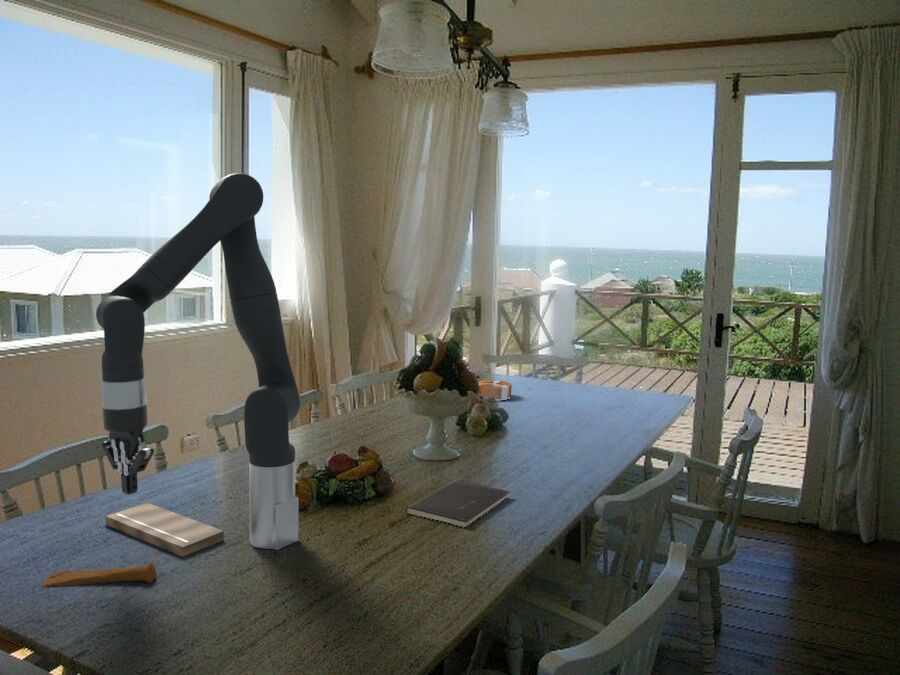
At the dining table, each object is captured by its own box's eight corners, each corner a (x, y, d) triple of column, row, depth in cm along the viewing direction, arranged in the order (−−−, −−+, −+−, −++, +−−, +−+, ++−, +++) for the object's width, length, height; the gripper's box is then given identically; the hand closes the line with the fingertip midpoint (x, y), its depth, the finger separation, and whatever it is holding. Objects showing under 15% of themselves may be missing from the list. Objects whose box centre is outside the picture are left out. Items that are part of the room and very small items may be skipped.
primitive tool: (39, 589, 128) (39, 570, 127) (52, 575, 133) (52, 557, 133) (152, 586, 130) (152, 568, 130) (160, 573, 136) (160, 555, 135)
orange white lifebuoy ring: (467, 396, 294) (493, 392, 304) (493, 404, 283) (519, 399, 293) (468, 380, 293) (494, 376, 303) (493, 386, 282) (520, 382, 292)
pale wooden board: (223, 540, 150) (223, 530, 149) (182, 556, 141) (182, 546, 141) (147, 511, 164) (147, 502, 163) (105, 524, 155) (105, 515, 155)
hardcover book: (509, 500, 180) (510, 491, 179) (465, 530, 160) (466, 521, 160) (453, 487, 188) (454, 479, 187) (405, 515, 168) (405, 506, 167)
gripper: (165, 403, 134) (169, 493, 136) (120, 395, 141) (125, 481, 143) (129, 411, 127) (134, 505, 130) (84, 402, 134) (90, 492, 136)
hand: (129, 492), depth 136 cm, fingers closed
